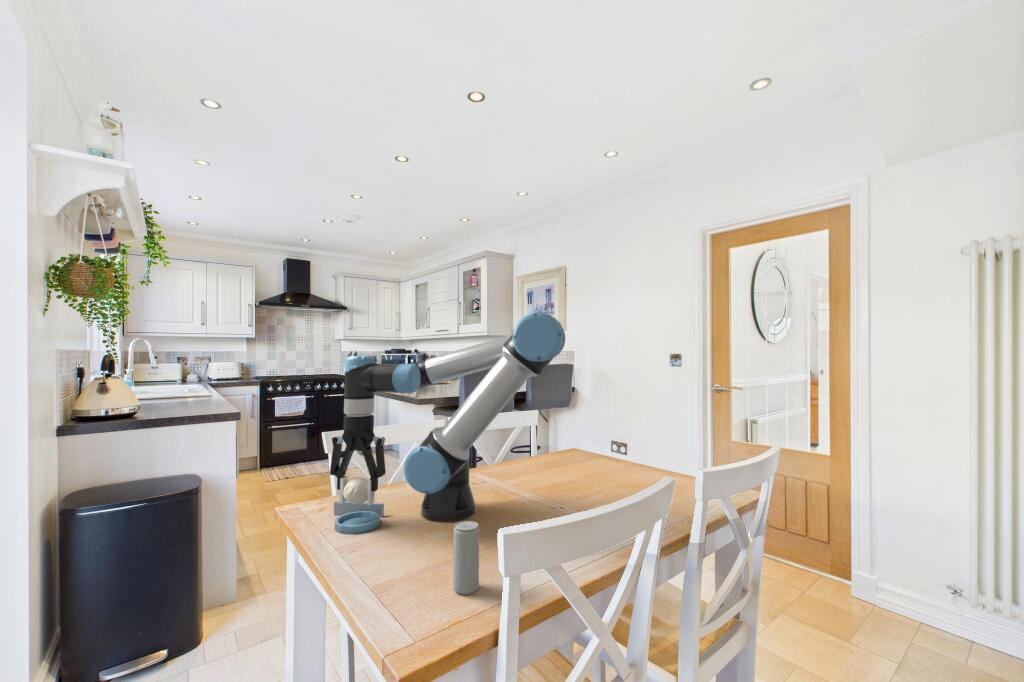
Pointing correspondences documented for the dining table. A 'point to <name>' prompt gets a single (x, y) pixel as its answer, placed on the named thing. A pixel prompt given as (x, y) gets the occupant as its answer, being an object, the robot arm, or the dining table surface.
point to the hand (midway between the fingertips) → (357, 502)
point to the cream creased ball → (356, 490)
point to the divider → (358, 508)
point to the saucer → (357, 522)
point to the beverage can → (466, 557)
